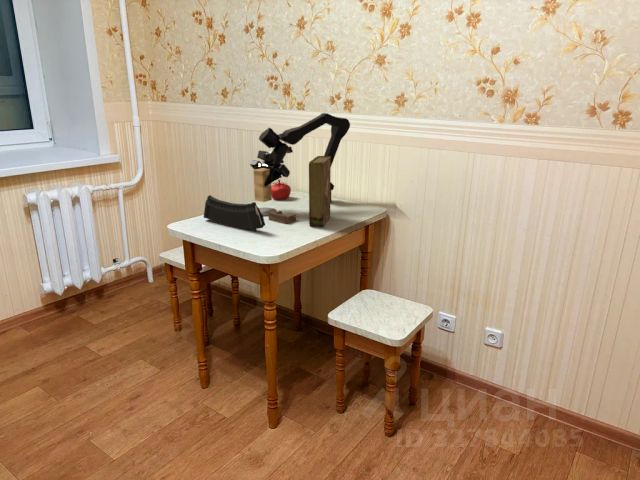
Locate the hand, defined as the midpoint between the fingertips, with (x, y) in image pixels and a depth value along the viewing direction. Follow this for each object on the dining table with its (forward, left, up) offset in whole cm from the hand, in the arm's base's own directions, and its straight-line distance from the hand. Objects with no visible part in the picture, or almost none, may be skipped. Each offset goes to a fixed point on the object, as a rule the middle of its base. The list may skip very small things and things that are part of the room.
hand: (260, 184), depth 199 cm
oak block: (-1, -1, -7) cm, 7 cm away
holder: (-11, +9, -12) cm, 19 cm away
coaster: (-1, -1, -12) cm, 12 cm away
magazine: (+8, +19, -13) cm, 24 cm away
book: (-26, +11, -13) cm, 31 cm away
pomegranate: (-4, -27, -13) cm, 30 cm away
